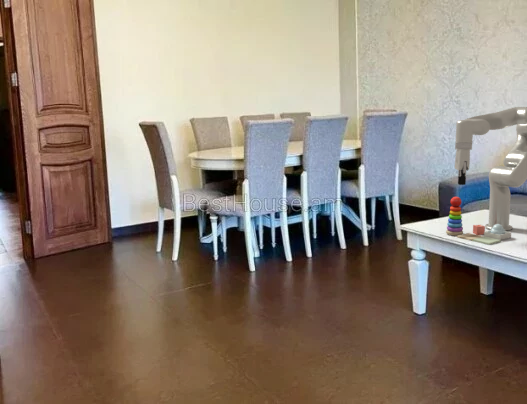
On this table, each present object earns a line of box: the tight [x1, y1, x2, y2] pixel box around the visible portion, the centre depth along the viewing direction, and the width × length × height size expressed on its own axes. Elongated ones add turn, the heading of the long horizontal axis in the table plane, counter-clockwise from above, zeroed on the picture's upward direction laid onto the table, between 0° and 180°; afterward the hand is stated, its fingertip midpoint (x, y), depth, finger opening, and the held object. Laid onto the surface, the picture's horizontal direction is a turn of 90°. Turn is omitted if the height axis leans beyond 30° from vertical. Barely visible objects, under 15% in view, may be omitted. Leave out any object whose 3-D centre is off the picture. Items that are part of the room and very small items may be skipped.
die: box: [472, 224, 486, 236], centre depth 266 cm, size 4×4×4 cm
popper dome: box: [491, 224, 505, 235], centre depth 257 cm, size 6×6×5 cm
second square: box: [472, 237, 502, 246], centre depth 252 cm, size 8×8×1 cm
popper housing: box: [483, 229, 512, 241], centre depth 258 cm, size 9×9×3 cm
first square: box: [456, 232, 484, 242], centre depth 259 cm, size 8×8×1 cm
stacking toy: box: [445, 196, 464, 237], centre depth 265 cm, size 8×8×19 cm
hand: (461, 184), depth 261 cm, fingers closed
